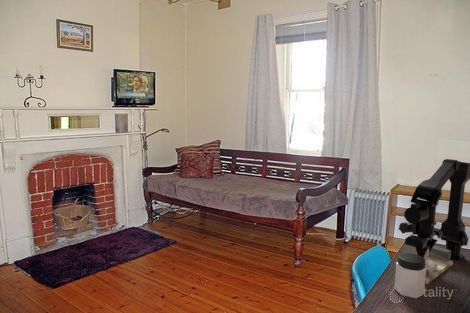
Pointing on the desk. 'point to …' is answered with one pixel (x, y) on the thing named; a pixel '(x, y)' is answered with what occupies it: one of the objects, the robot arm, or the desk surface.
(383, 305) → the desk surface
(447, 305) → the desk surface
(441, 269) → the base
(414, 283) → the jar
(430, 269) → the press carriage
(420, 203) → the robot arm
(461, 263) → the desk surface
